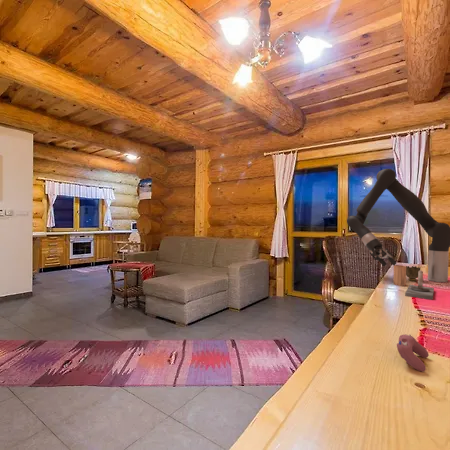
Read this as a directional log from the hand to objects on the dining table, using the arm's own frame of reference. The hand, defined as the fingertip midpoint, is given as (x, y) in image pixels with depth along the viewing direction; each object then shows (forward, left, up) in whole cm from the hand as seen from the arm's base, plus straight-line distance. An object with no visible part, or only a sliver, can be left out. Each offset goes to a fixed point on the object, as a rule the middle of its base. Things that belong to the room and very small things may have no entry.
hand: (390, 264), depth 155 cm
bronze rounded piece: (-17, +2, -10) cm, 20 cm away
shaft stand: (+9, +20, -10) cm, 24 cm away
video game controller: (+80, +56, -10) cm, 98 cm away
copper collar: (0, +5, -10) cm, 11 cm away
